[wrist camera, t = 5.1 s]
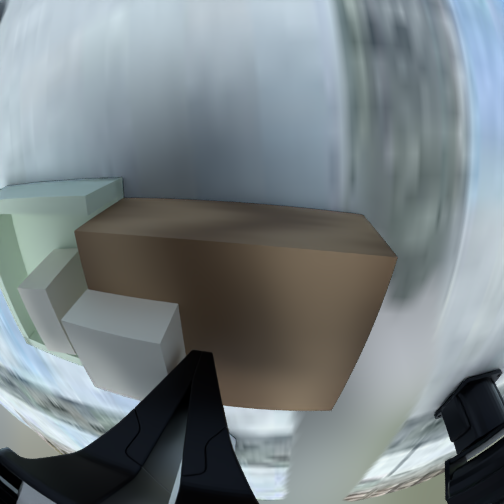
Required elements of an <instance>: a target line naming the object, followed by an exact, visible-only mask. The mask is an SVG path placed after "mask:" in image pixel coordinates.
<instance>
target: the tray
mask: <svg viewBox="0 0 504 504" xmlns="http://www.w3.org/2000/svg"><path fill="white" fill-rule="evenodd" d="M122 198H124V194H123V181H122V177H113V178H89V179H72V180H59V181H47V182H37V183H27V184H19V185H11V186H6V187H4V188H2V189H0V288H1V291H2V293H3V295H4V298H5V300H6V302H7V305H8V307H9V309H10V311H11V313H12V315H13V318H14V320H15V322H16V324H17V326H18V328H19V330H20V331H21V333H22V335H23V337H24V339H25V341H26V343H27V344H29V345H32V346H34V347H36V348H38V349H40V350H43V351H45V352H47V353H50V354H52V355H54V356H57V357H59V358H62V359H65V360H67V361H70V362H72V363H75V364H78V365H81V366H83V365H82V363H81V361H80V359H79V357H78V355H77V354H76V355H73V354H66V353H60V352H54V351H48V349H47V348H46V346H45V344H44V342H43V341H42V339H41V337H40V335H39V333H38V331H37V330H36V328H35V326H34V324H33V322H32V320H31V318H30V316H29V314H28V311H27V309H26V307H25V305H24V303H23V300H22V298H21V296H20V294H19V291H18V289H17V288H18V287H19V285H20V284H21V283H22V282H23V281H24V280H25V279H26V278H27V277H28V276H29V274H30V273H31V272H32V271H33V270H34V269H35V268H36V267H37V266H38V265H39V264H40V263H41V262H42V261H43V260H44V259H45V258H46V257H47V256H48V255H49V254H50V253H51V252H52V251H53V250H54V249H67V248H77V243H76V238H75V233H74V231H75V230H76V229H77V228H79V227H80V226H82V225H83V224H84V223H86V222H87V221H89V220H90V219H92V218H93V217H95V216H96V215H98V214H99V213H101V212H102V211H104V210H105V209H107V208H108V207H110V206H111V205H113V204H114V203H116V202H118V201H119V200H121V199H122ZM83 367H84V366H83Z"/></svg>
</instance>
